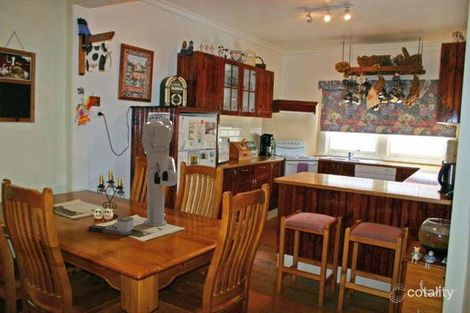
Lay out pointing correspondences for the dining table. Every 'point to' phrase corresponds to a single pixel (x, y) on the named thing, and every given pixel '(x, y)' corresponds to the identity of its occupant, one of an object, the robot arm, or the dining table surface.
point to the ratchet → (107, 230)
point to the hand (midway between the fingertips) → (161, 182)
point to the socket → (125, 224)
